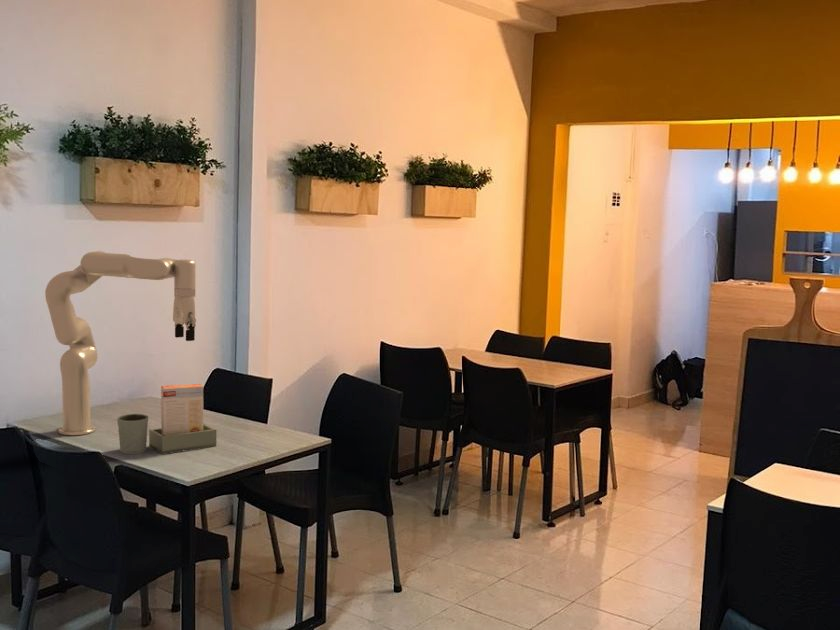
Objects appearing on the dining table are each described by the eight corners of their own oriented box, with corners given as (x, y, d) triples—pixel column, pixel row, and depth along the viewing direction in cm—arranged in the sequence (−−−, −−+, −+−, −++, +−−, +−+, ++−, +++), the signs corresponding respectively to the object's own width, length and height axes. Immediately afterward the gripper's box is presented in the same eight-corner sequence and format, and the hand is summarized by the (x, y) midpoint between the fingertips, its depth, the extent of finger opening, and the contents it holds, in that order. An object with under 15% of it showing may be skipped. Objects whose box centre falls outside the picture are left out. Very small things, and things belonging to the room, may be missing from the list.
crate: (149, 446, 301) (149, 429, 300) (202, 438, 313) (202, 422, 312) (162, 454, 291) (162, 437, 291) (216, 445, 304) (216, 429, 303)
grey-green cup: (150, 446, 300) (150, 413, 299) (145, 454, 290) (145, 420, 289) (120, 446, 298) (120, 413, 297) (114, 455, 289) (114, 420, 287)
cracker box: (200, 439, 308) (201, 383, 305) (203, 443, 302) (204, 386, 300) (160, 442, 302) (160, 385, 300) (163, 446, 297) (163, 388, 294)
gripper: (165, 291, 316) (165, 336, 318) (184, 295, 303) (184, 342, 305) (184, 290, 321) (184, 335, 323) (204, 294, 308) (204, 341, 310)
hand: (184, 338), depth 314 cm, fingers open, 9 cm apart
